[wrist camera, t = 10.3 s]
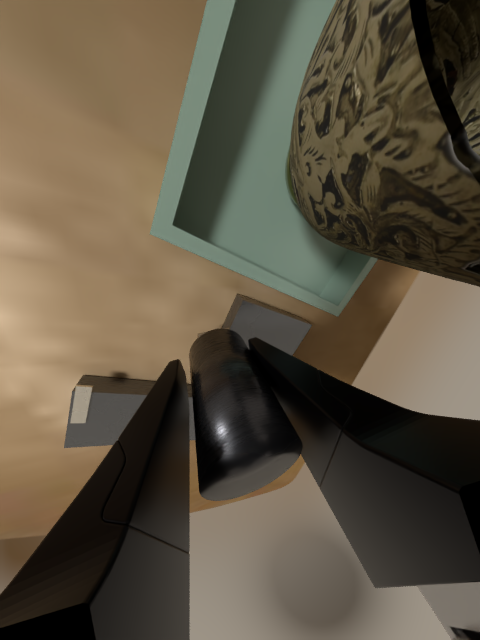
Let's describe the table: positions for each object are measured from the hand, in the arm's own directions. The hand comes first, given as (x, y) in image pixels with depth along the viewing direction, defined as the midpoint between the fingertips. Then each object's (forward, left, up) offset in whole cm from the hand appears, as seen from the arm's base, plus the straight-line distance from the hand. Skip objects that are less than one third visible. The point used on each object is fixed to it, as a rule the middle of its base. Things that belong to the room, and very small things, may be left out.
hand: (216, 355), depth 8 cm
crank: (+3, +2, -2) cm, 4 cm away
